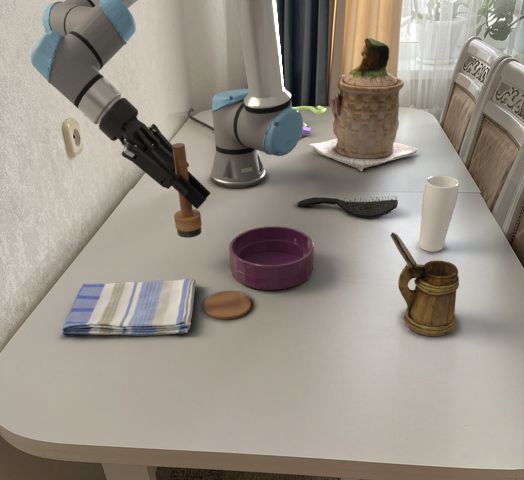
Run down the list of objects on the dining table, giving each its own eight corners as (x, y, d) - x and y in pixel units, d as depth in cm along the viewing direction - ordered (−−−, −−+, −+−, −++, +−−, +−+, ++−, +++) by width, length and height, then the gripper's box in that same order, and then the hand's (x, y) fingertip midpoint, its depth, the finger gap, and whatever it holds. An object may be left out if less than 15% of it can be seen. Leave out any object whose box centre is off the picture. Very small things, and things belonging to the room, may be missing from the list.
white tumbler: (447, 242, 123) (461, 177, 114) (445, 256, 118) (458, 189, 109) (417, 238, 125) (427, 173, 116) (413, 252, 120) (424, 185, 111)
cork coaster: (196, 302, 107) (196, 299, 107) (237, 288, 110) (237, 286, 110) (216, 325, 101) (216, 322, 100) (259, 310, 104) (259, 307, 104)
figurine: (329, 119, 199) (330, 102, 196) (305, 141, 180) (306, 124, 176) (281, 114, 205) (281, 99, 201) (253, 136, 186) (253, 119, 182)
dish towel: (191, 336, 98) (189, 323, 96) (60, 339, 99) (56, 327, 97) (199, 285, 112) (198, 273, 110) (84, 288, 112) (81, 276, 110)
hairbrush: (301, 188, 142) (399, 191, 136) (301, 202, 145) (398, 205, 138) (293, 201, 136) (396, 205, 130) (294, 215, 138) (395, 220, 132)
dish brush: (172, 230, 115) (159, 143, 104) (196, 224, 117) (185, 138, 106) (182, 240, 112) (170, 152, 100) (206, 233, 114) (197, 146, 102)
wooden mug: (375, 308, 103) (386, 220, 92) (448, 308, 103) (467, 219, 92) (382, 337, 96) (395, 245, 85) (460, 336, 96) (483, 244, 85)
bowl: (217, 264, 118) (215, 239, 115) (285, 244, 125) (285, 219, 121) (256, 301, 106) (254, 275, 103) (329, 277, 113) (330, 251, 109)
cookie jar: (420, 154, 167) (438, 35, 147) (360, 173, 157) (370, 47, 137) (364, 135, 183) (374, 25, 164) (306, 150, 173) (309, 35, 153)
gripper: (116, 113, 110) (204, 197, 117) (81, 138, 98) (180, 229, 106) (136, 85, 106) (226, 174, 113) (101, 108, 94) (203, 205, 101)
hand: (203, 200), depth 109 cm, fingers closed on dish brush, 2 cm apart
